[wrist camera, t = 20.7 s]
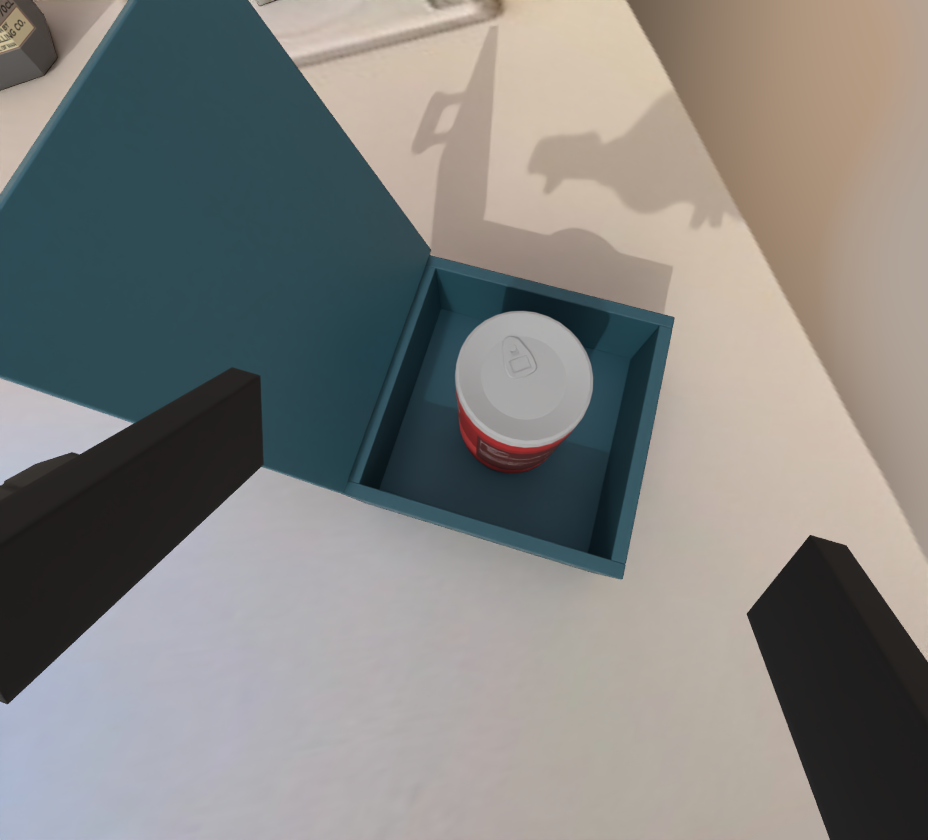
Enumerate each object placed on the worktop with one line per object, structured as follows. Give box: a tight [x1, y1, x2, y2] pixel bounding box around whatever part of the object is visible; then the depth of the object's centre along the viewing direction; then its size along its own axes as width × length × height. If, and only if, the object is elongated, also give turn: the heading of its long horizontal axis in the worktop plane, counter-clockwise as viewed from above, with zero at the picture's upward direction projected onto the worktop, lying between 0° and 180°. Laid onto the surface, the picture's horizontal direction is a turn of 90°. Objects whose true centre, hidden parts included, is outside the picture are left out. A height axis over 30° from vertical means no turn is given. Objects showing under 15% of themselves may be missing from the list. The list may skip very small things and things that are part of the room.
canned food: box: [455, 311, 593, 473], centre depth 31 cm, size 8×8×11 cm
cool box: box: [341, 255, 674, 579], centre depth 34 cm, size 18×18×7 cm
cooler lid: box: [0, 0, 431, 493], centre depth 24 cm, size 19×18×5 cm
